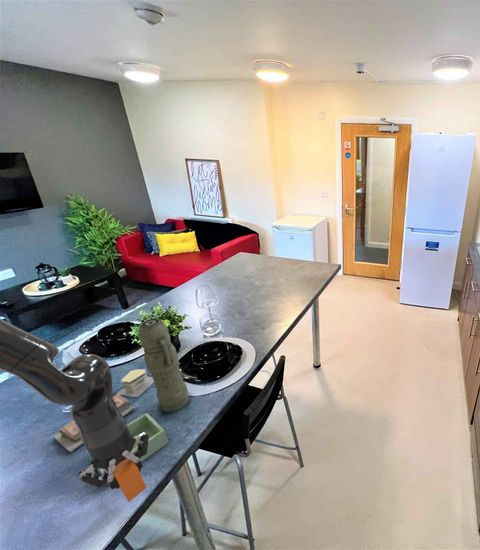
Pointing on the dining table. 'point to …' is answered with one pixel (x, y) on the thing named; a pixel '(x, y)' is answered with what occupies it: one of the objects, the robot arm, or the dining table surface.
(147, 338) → the thermos
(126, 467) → the block
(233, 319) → the dining table surface
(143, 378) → the stacked layers on plate
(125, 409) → the packaged product
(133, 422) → the bin
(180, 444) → the dining table surface
